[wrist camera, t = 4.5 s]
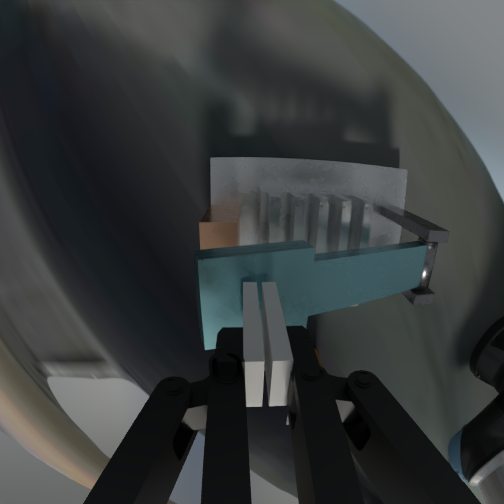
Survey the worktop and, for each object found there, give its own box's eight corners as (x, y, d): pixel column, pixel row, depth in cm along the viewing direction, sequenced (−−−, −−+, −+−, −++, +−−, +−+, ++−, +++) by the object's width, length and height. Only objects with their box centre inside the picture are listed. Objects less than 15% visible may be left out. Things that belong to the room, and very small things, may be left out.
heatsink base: (399, 168, 30) (462, 181, 19) (382, 289, 35) (425, 340, 24) (212, 157, 29) (191, 160, 18) (216, 291, 35) (203, 353, 24)
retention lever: (427, 228, 23) (443, 234, 21) (415, 286, 25) (429, 294, 23) (193, 249, 16) (198, 261, 15) (200, 333, 18) (205, 352, 17)
